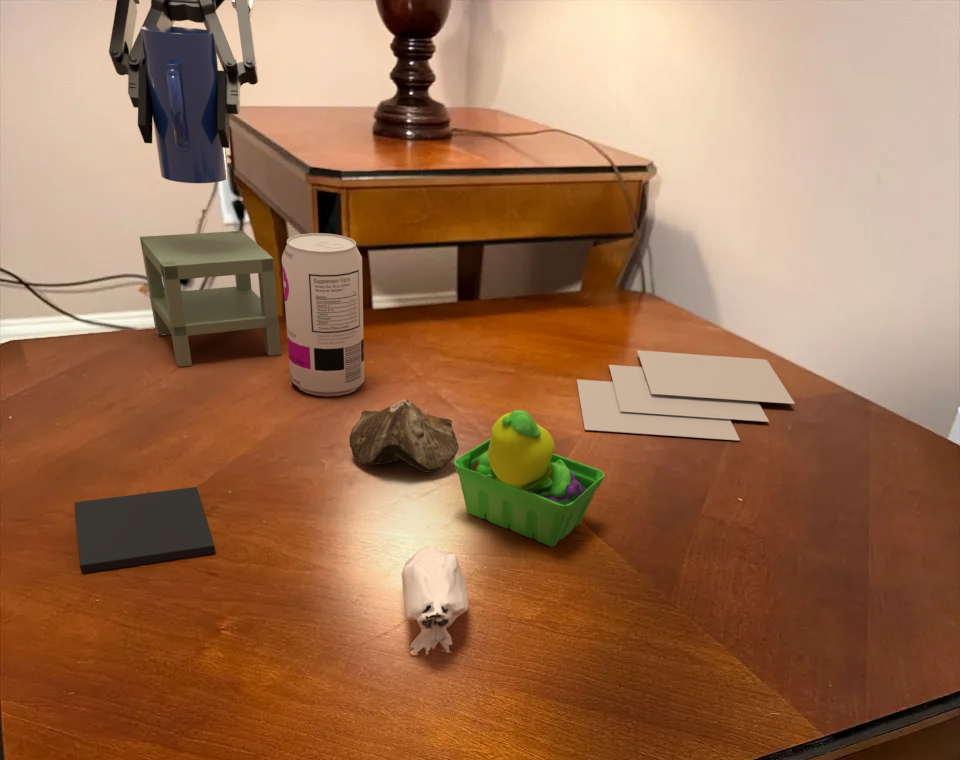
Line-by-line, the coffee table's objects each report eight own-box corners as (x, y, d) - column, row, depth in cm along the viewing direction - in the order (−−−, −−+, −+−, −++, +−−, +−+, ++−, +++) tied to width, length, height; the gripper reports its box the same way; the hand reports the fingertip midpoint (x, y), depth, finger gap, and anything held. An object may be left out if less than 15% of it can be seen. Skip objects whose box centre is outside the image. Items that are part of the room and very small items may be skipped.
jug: (167, 167, 96) (147, 24, 88) (232, 171, 97) (218, 29, 89) (150, 187, 88) (127, 32, 80) (221, 190, 89) (205, 38, 81)
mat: (76, 510, 74) (74, 501, 73) (197, 494, 77) (196, 486, 76) (82, 573, 66) (79, 565, 66) (215, 553, 70) (214, 545, 69)
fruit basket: (600, 522, 77) (621, 402, 70) (551, 566, 71) (569, 439, 64) (493, 483, 82) (502, 366, 75) (439, 520, 76) (443, 397, 69)
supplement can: (279, 391, 95) (267, 246, 86) (308, 365, 101) (300, 228, 92) (349, 403, 94) (344, 257, 85) (374, 376, 100) (372, 237, 91)
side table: (178, 367, 99) (163, 266, 92) (155, 332, 107) (139, 236, 100) (281, 354, 104) (273, 258, 97) (251, 322, 112) (242, 230, 105)
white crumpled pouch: (482, 661, 63) (460, 560, 69) (474, 604, 58) (450, 500, 64) (415, 674, 63) (399, 572, 69) (401, 619, 58) (384, 512, 63)
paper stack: (816, 446, 93) (819, 439, 92) (584, 430, 92) (585, 423, 92) (765, 364, 111) (766, 359, 111) (571, 350, 110) (572, 345, 110)
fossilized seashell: (472, 431, 85) (383, 424, 89) (450, 386, 79) (357, 380, 83) (448, 496, 82) (358, 485, 86) (424, 454, 77) (328, 445, 80)
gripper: (287, -28, 96) (287, 166, 93) (98, -44, 93) (93, 155, 91) (280, -92, 88) (280, 117, 86) (74, -112, 86) (69, 103, 83)
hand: (184, 136), depth 88 cm, fingers closed on jug, 7 cm apart
